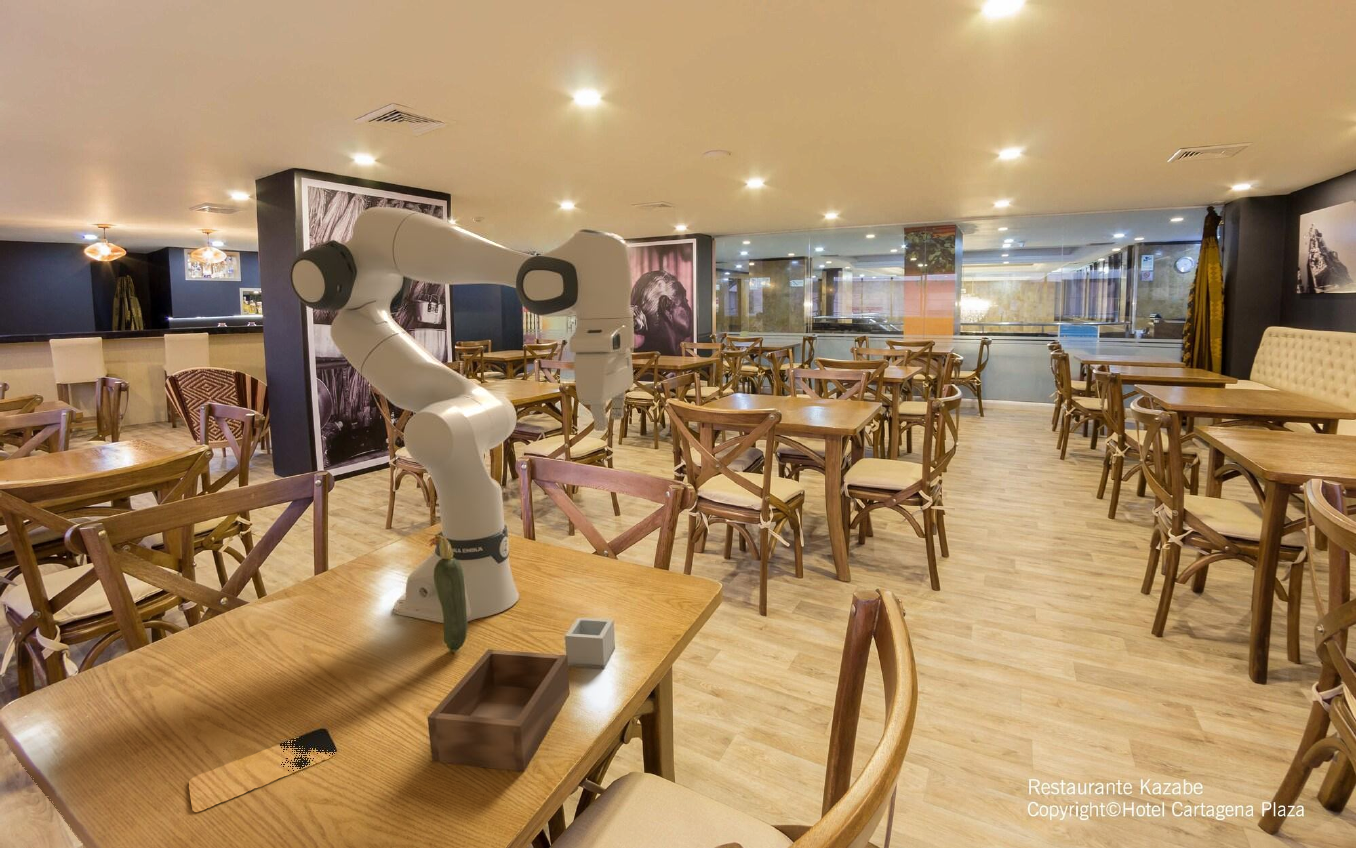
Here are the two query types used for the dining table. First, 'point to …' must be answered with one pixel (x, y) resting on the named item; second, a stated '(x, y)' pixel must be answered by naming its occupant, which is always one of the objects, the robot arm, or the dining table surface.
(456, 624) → the vegetable
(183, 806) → the dining table surface
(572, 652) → the box
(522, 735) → the big crate
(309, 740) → the smartphone
